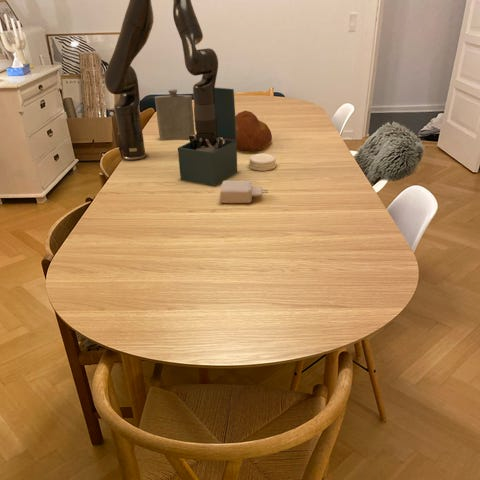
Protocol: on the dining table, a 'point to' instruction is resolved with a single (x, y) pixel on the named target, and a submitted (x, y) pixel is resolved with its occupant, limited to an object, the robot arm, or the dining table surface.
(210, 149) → the food container
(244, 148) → the bread
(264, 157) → the white round disc
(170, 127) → the hip flask
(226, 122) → the lid
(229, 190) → the charger
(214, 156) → the cool chest
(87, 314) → the dining table surface
